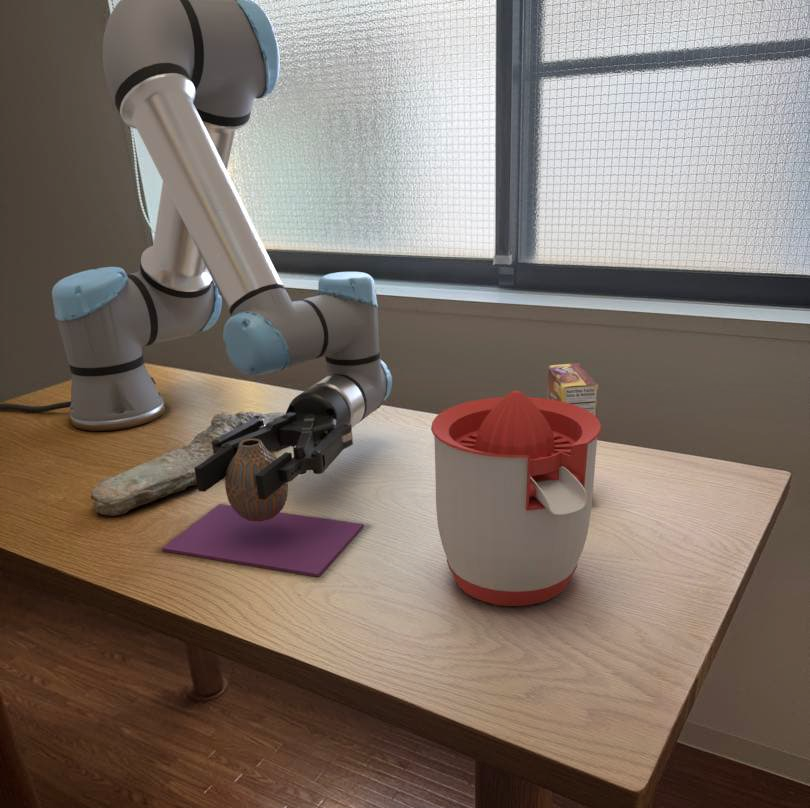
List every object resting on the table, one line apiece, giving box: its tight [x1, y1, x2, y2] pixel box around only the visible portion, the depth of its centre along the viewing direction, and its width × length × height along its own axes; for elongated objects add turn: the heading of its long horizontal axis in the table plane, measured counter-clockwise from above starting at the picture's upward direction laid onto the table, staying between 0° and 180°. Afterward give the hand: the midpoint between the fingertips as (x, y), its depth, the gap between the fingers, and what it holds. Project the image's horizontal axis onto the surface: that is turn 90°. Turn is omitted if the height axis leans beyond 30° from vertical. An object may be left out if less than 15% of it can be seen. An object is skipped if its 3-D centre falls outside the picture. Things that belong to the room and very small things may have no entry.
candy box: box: [547, 363, 599, 417], centre depth 93 cm, size 9×4×15 cm, turn 2°
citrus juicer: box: [430, 390, 602, 607], centre depth 74 cm, size 16×17×20 cm
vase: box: [224, 439, 289, 521], centre depth 85 cm, size 7×7×9 cm
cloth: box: [161, 503, 365, 578], centre depth 89 cm, size 20×12×1 cm, turn 69°
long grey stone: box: [90, 411, 286, 517], centre depth 107 cm, size 35×5×10 cm
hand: (229, 483), depth 81 cm, fingers closed on vase, 7 cm apart
